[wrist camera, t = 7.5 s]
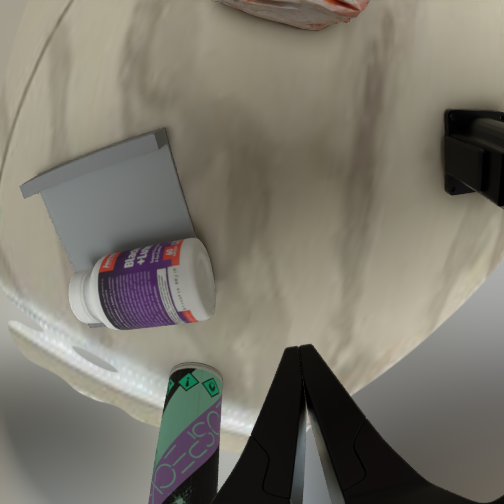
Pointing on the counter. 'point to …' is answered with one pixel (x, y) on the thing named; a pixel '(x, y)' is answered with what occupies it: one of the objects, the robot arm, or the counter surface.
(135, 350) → the counter surface
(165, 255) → the pill bottle
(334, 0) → the food item
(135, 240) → the tray
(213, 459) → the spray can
